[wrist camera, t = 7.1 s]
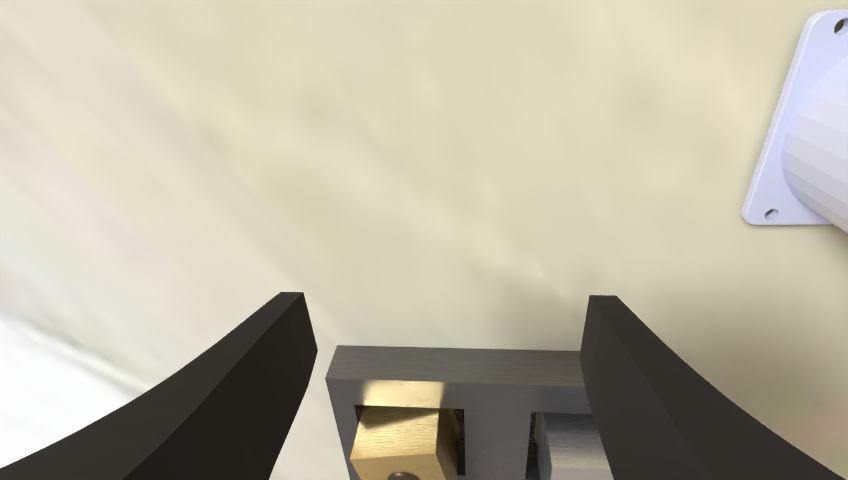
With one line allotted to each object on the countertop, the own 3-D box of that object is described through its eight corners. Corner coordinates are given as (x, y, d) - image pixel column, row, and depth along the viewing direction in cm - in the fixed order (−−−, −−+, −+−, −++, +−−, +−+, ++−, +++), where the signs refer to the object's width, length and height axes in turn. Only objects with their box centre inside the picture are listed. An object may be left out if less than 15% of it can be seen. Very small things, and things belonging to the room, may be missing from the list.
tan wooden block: (441, 374, 26) (435, 454, 21) (458, 424, 28) (455, 506, 23) (369, 382, 27) (349, 460, 22) (391, 429, 29) (376, 509, 24)
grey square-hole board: (669, 353, 23) (688, 390, 21) (634, 467, 28) (647, 506, 26) (337, 345, 25) (325, 378, 23) (360, 453, 30) (352, 487, 28)
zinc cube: (620, 386, 25) (651, 473, 20) (608, 437, 27) (634, 525, 23) (538, 384, 25) (552, 468, 21) (534, 434, 28) (545, 519, 23)
